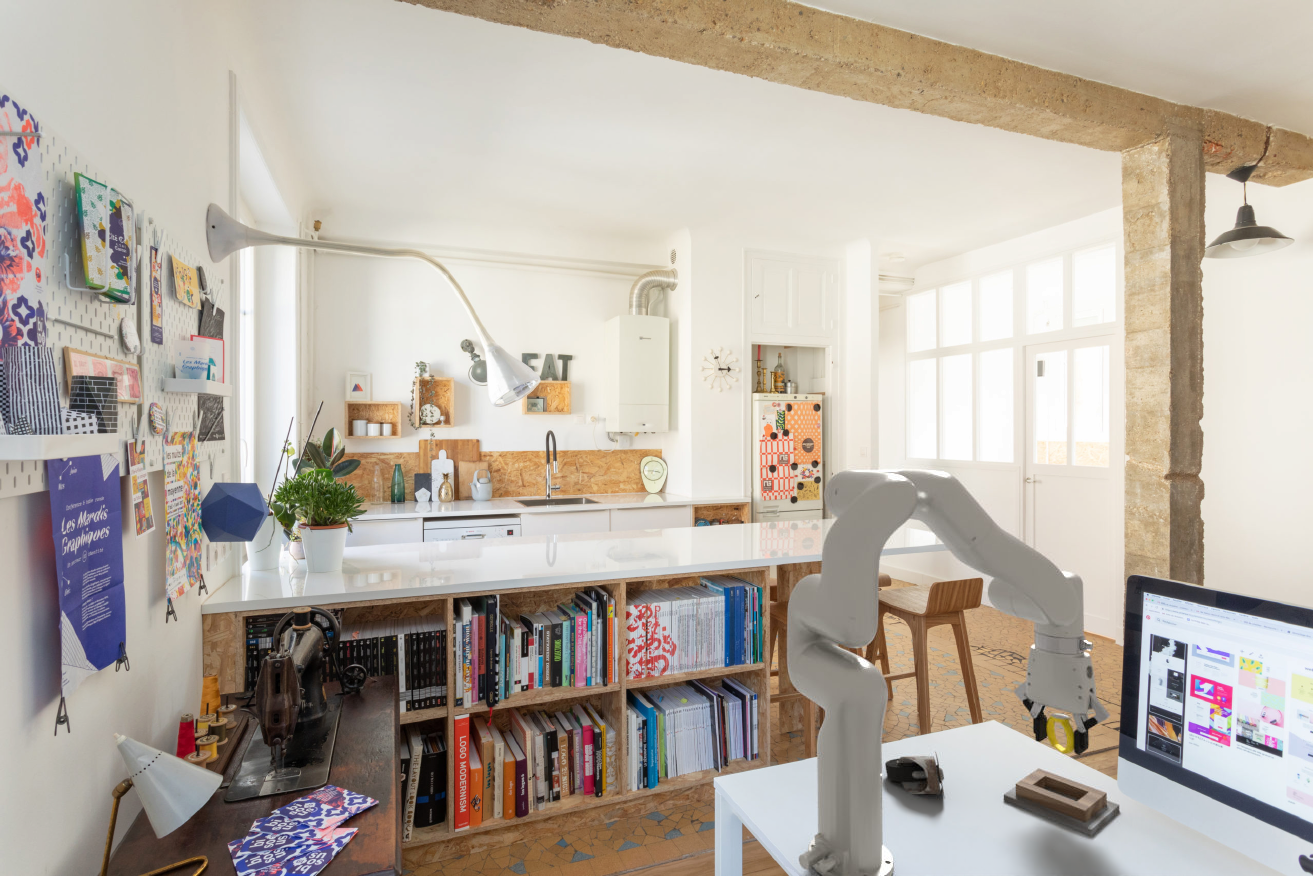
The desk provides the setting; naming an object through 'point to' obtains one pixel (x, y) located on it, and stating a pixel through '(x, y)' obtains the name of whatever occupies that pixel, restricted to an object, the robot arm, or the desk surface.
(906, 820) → the desk surface
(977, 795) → the desk surface
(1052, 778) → the frame
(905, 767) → the caster wheel
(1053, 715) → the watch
